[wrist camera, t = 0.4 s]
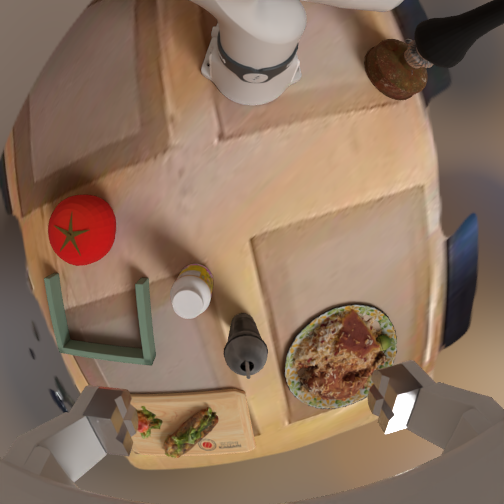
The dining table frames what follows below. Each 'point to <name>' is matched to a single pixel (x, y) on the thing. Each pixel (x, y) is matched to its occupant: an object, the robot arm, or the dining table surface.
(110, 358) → the corral
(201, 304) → the supplement bottle
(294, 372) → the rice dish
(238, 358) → the beverage cup
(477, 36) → the oil lamp
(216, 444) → the cutting board
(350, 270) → the dining table surface
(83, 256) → the tomato
